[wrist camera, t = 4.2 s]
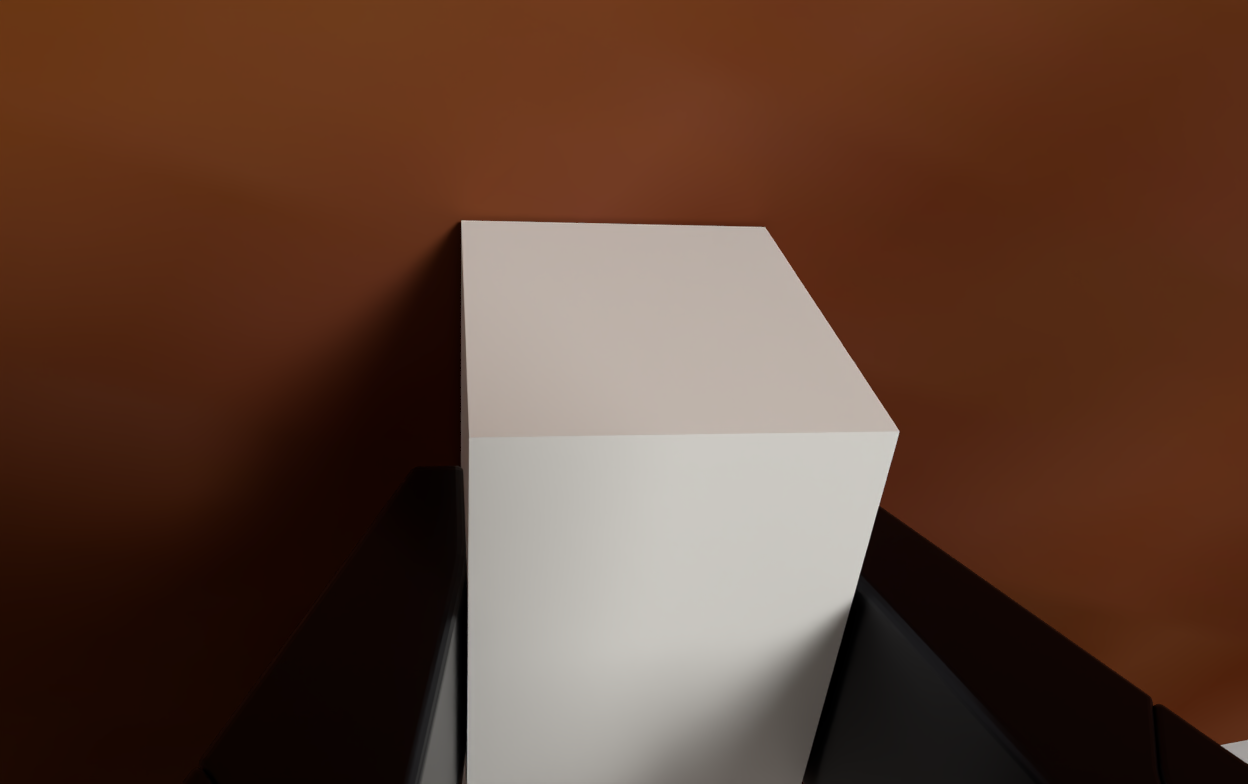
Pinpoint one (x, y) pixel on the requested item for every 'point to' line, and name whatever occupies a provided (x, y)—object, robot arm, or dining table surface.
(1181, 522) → the dining table surface
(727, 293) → the cable plug
